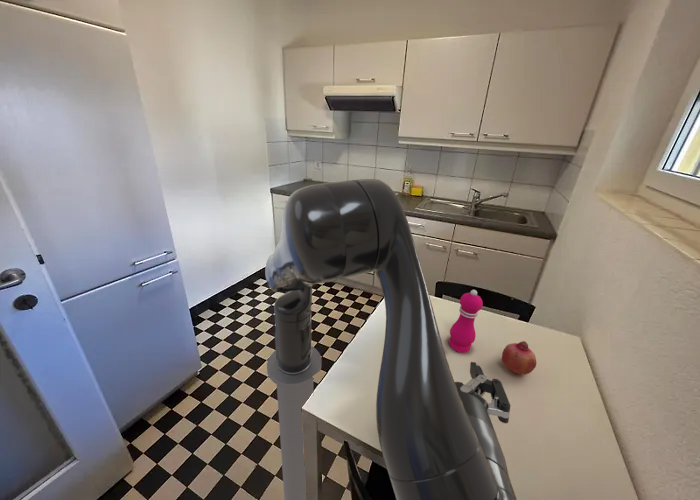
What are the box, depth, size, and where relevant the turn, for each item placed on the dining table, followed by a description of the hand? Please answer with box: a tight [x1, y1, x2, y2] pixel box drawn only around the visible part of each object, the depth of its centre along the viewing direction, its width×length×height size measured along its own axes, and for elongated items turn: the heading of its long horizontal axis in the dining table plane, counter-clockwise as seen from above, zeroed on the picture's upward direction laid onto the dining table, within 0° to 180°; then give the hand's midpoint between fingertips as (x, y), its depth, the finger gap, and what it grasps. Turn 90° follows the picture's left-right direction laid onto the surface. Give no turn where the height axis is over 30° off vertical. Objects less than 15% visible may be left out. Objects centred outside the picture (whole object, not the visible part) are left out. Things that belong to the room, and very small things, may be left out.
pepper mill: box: [448, 289, 484, 354], centre depth 82 cm, size 7×7×20 cm
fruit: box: [501, 340, 537, 376], centre depth 76 cm, size 8×8×10 cm
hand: (445, 363), depth 48 cm, fingers open, 8 cm apart
